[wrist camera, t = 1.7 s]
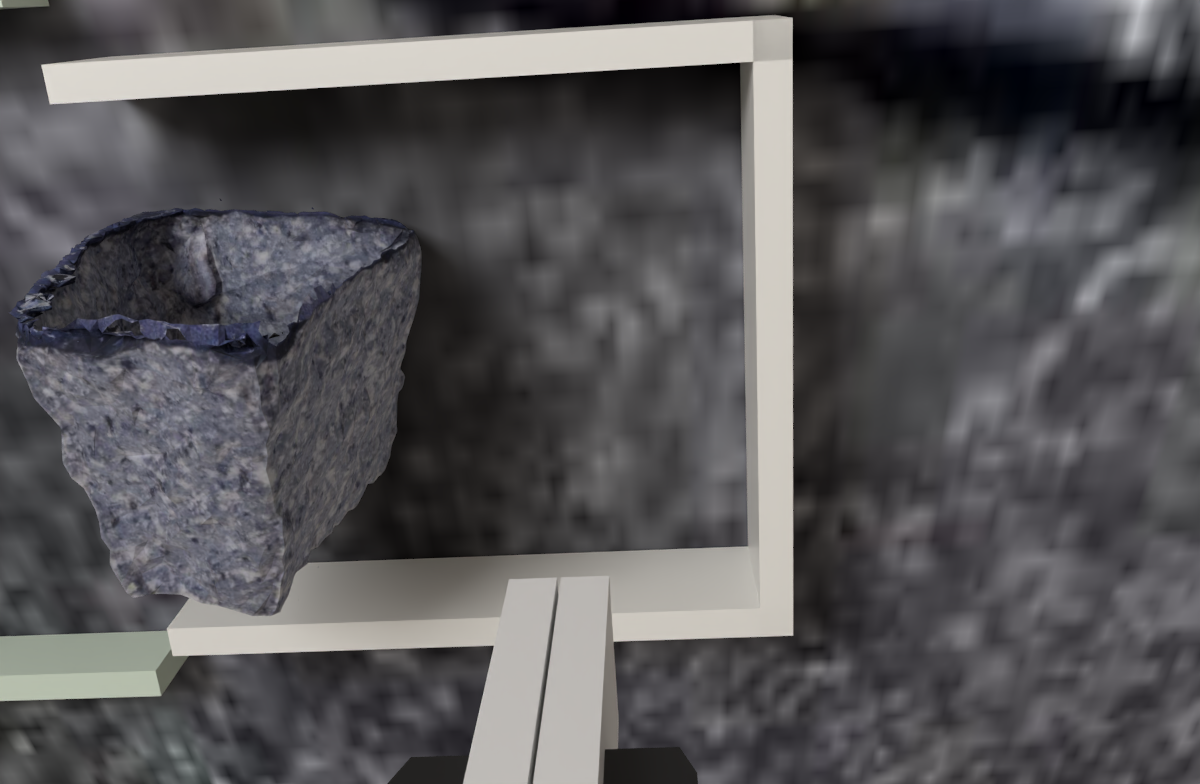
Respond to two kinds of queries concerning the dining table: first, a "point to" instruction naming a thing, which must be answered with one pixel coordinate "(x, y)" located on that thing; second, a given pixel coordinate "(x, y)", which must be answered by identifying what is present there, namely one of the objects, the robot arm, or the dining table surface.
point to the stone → (223, 387)
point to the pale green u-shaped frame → (84, 644)
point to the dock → (637, 578)
